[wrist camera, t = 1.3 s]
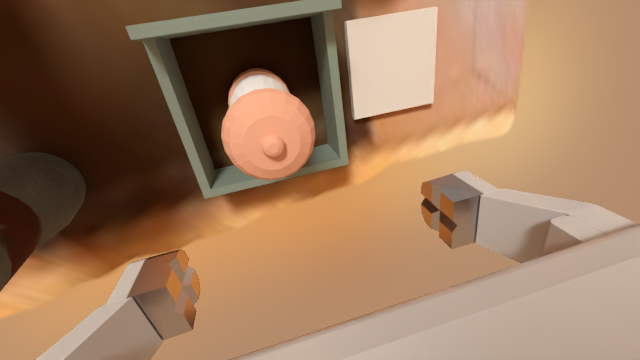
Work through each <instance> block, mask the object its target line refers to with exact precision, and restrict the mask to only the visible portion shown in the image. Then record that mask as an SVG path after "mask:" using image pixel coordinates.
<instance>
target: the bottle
mask: <svg viewBox="0 0 640 360" xmlns="http://www.w3.org/2000/svg"><path fill="white" fill-rule="evenodd" d="M86 190H87V186H86V183H85V179H84V177H83V176H82V174H81V173H80V172H79V170H78V169H77V168H76V167H74V166H73V165H72V164H71V163H70V162H68V161H66V160H64V159H62V158H60V157H58V156H55V155H51V154H47V153H39V152H29V153H20V154H16V155H12V156H8V157H4V158H1V159H0V291H1V290H2V289H3V287H4V286H5V285H6V284H7V283H8V281H9V280H10V279H11V278H12V277H13V275H14V274H15V273H16V272H17V271H18V269H19V268H20V267H21V266H22V265H23V263H24V262H25V261H26V260H27V259H28V257H29V256H30V255H31V254H32V252H33V251H34V250H35V249H36V248H37V247H38V246H40V245H41V244H42V243H44V242H45V241H47V240H48V239H50V238H51V237H52V236H54V235H55V234H57V233H58V232H59V231H61V230H62V229H63V228H64V227H66V226H67V225H68V224H70V222H71V221H72V219H73V218H74V216H75V215H76V213H77V212H78V210H79V209H80V207H81V206H82V204H83V203H84V200H85V196H86Z"/></svg>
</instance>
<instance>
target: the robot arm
mask: <svg viewBox="0 0 640 360" xmlns="http://www.w3.org/2000/svg"><path fill="white" fill-rule="evenodd" d="M421 194H422V195H423V196H424V197H425V199H424V200H423V202H422V204H421V208H422V214H423V217H424V220H425V222H426V223H427V225H428V226H429V227H430V228H431V229H434V230H436V231H439V237H440V238H441V239H442V240H443V241H444V242H445V243H446V244H447V245H448V246H449V247H450V248H451V249H453V248H457V247H460V246H464V245H467V244H471V243H475V242H476V244H478V245H480V246H483V247H485V248H487V249H490V250H492V251H494V252H497V253H499V254H501V255H503V256H506V257H508V258H510V259H513V260H515V261H517V262H520V263H521V264H518V265H515V266H512V267H509V268H506V269H503V270H500V271H497V272H494V273H491V274H488V275H485V276H482V277H479V278H476V279H473V280H470V281H466V282H464V283H460V284H457V285H454V286H451V287H448V288H445V289H442V290H439V291H436V292H433V293H430V294H427V295H424V296H421V297H418V298H415V299H412V300H408V301H405V302H402V303H399V304H397V305H393V306H390V307H387V308H384V309H381V310H378V311H375V312H372V313H369V314H366V315H363V316H360V317H357V318H354V319H351V320H348V321H345V322H342V323H339V324H336V325H333V326H330V327H327V328H324V329H321V330H318V331H315V332H312V333H309V334H306V335H303V336H300V337H297V338H294V339H291V340H288V341H285V342H281V343H279V344H276V345H273V346H269V347H266V348H263V349H260V350H257V351H254V352H251V353H249V354H245V355H242V356H239V357H236V358H233V359H230V360H640V224H639V225H638V224H636V223H634V222H632V221H630V220H628V219H625V218H623V217H621V216H619V215H617V214H615V213H613V212H611V211H608V210H606V209H604V208H602V207H600V206H598V205H595V204H590V203H584V202H579V201H573V200H567V199H561V198H555V197H549V196H544V195H538V194H532V193H526V192H520V191H515V190H510V189H500V190H499V189H497V188H495V187H494V186H492V185H491V184H489V183H487V182H485V181H484V180H482V179H480V178H478V177H477V176H475V175H473V174H471V173H470V172H468V171H463V170H462V171H458V172H455V173H452V174H449V175H446V176H443V177H440V178H436V179H433V180H430V181H427V182H423V183H422V186H421ZM188 261H189V258H188V257H187V255H186V253H185V251H183V250H181V249H180V250H177V251H173V252H169V253H165V254H161V255H157V256H153V257H149V258H145V259H142V260H138V261H135V262H132V263H130V264H128V265H127V267H126V269H125V270H124V272H123V274H122V276H121V278H120V279H119V281H118V283H117V285H116V287H115V288H114V290H113V292H112V294H111V296H110V298H109V299H108V301H107V303H106V305H102V306H100V307H98V308H97V309H96V310H95V311H93V312H92V313H91V314H90V315H89V316H87V317H86V318H85V319H84V320H83V321H82V322H80V323H79V324H78V325H77V326H76V327H74V328H73V329H72V330H71V331H70V332H68V333H67V334H66V335H65V336H64V337H62V338H61V339H60V340H59V341H58V342H56V343H55V344H54V345H53V346H52V347H51V348H49V349H48V350H47V351H46V352H45V353H43V354H42V355H41V356H40V357H39V358H37V359H36V360H150V359H151V358H152V356H153V355H154V354H155V352H156V351H157V349H158V348H159V346H160V345H161V344H162V342H163V341H162V340H165V339H167V338H171V337H173V336H176V335H179V334H182V333H185V332H188V331H191V330H192V329H193V325H194V321H195V316H196V309H195V308H194V306H193V305H194V304H195V302H197V300H198V299H199V294H200V284H199V279H198V276H197V274H196V271H195V270H194V269H192V268H190V267H189V266H187V265H188Z"/></svg>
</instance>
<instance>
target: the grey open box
mask: <svg viewBox="0 0 640 360" xmlns="http://www.w3.org/2000/svg"><path fill="white" fill-rule="evenodd" d="M340 8H342V5H341V0H302V1H295V2H288V3H281V4H275V5H268V6H261V7H254V8H247V9H240V10H233V11H227V12H220V13H213V14H206V15H199V16H192V17H185V18H179V19H172V20H165V21H158V22H151V23H144V24H137V25H131V26H125V27H126V29H127V32H128V34H129V36H130V39H131V40H143V43H144V45H145V48H146V51H147V53H148V56H149V58H150V61H151V63H152V66H153V68H154V71H155V73H156V76H157V79H158V81H159V84H160V86H161V89H162V91H163V94H164V96H165V99H166V102H167V104H168V107H169V109H170V112H171V114H172V117H173V119H174V122H175V124H176V127H177V130H178V132H179V135H180V137H181V140H182V142H183V145H184V147H185V150H186V152H187V155H188V158H189V160H190V163H191V165H192V168H193V170H194V173H195V175H196V178H197V180H198V183H199V186H200V188H201V191H202V193H203V196H204V198H205V199H206V198H210V197H214V196H219V195H223V194H227V193H231V192H235V191H240V190H244V189H248V188H252V187H256V186H261V185H265V184H269V183H273V182H277V181H281V180H286V179H290V178H294V177H298V176H302V175H307V174H311V173H315V172H319V171H323V170H327V169H332V168H336V167H340V166H344V165H348V164H349V162H348V152H347V143H346V133H345V124H344V114H343V105H342V95H341V86H340V76H339V67H338V57H337V48H336V38H335V29H334V19H333V11H334V10H337V9H340ZM307 17H310V18H311V25H312V32H313V39H314V46H315V54H316V61H317V68H318V75H319V83H320V90H321V97H322V104H323V112H324V119H325V126H326V133H327V141H328V144H326V145H321V146H317V147H313V150H312V153H311V155H310V156H309V158H308V160H307V161H306V163H305V164H304V165H303V166H302V167H301V168H300V169H299V170H297V171H296V172H295V173H293V174H291V175H289V176H287V177H285V178H280V179H274V180H266V179H257V178H255V177H252V176H250V175H247V174H245V173H244V172H242V171H241V170H240V169H239V168H238V167H236V166H235V165H232V166H228V167H223V168H219V169H215V168H214V165H213V162H212V159H211V157H210V154H209V151H208V148H207V145H206V142H205V140H204V137H203V134H202V131H201V128H200V125H199V123H198V120H197V117H196V114H195V111H194V108H193V106H192V103H191V100H190V97H189V94H188V91H187V88H186V86H185V83H184V80H183V77H182V74H181V71H180V69H179V66H178V63H177V60H176V57H175V54H174V52H173V49H172V46H171V43H170V40H169V39H172V38H179V37H185V36H191V35H198V34H204V33H211V32H217V31H224V30H230V29H236V28H243V27H249V26H256V25H262V24H269V23H275V22H282V21H288V20H294V19H301V18H307Z"/></svg>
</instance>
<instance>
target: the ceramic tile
mask: <svg viewBox="0 0 640 360" xmlns="http://www.w3.org/2000/svg"><path fill="white" fill-rule="evenodd" d="M437 9H438V6H436V7H430V8H424V9H418V10H411V11H405V12H399V13H393V14H386V15H380V16H374V17H368V18H361V19H355V20H349V21H344V31H345V42H346V53H347V64H348V75H349V86H350V97H351V108H352V118H353V119H355V120H356V119H360V118H365V117H370V116H374V115H379V114H384V113H388V112H393V111H397V110H402V109H407V108H411V107H416V106H421V105H425V104H430V103H433V100H434V78H435V55H436V32H437Z"/></svg>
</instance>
